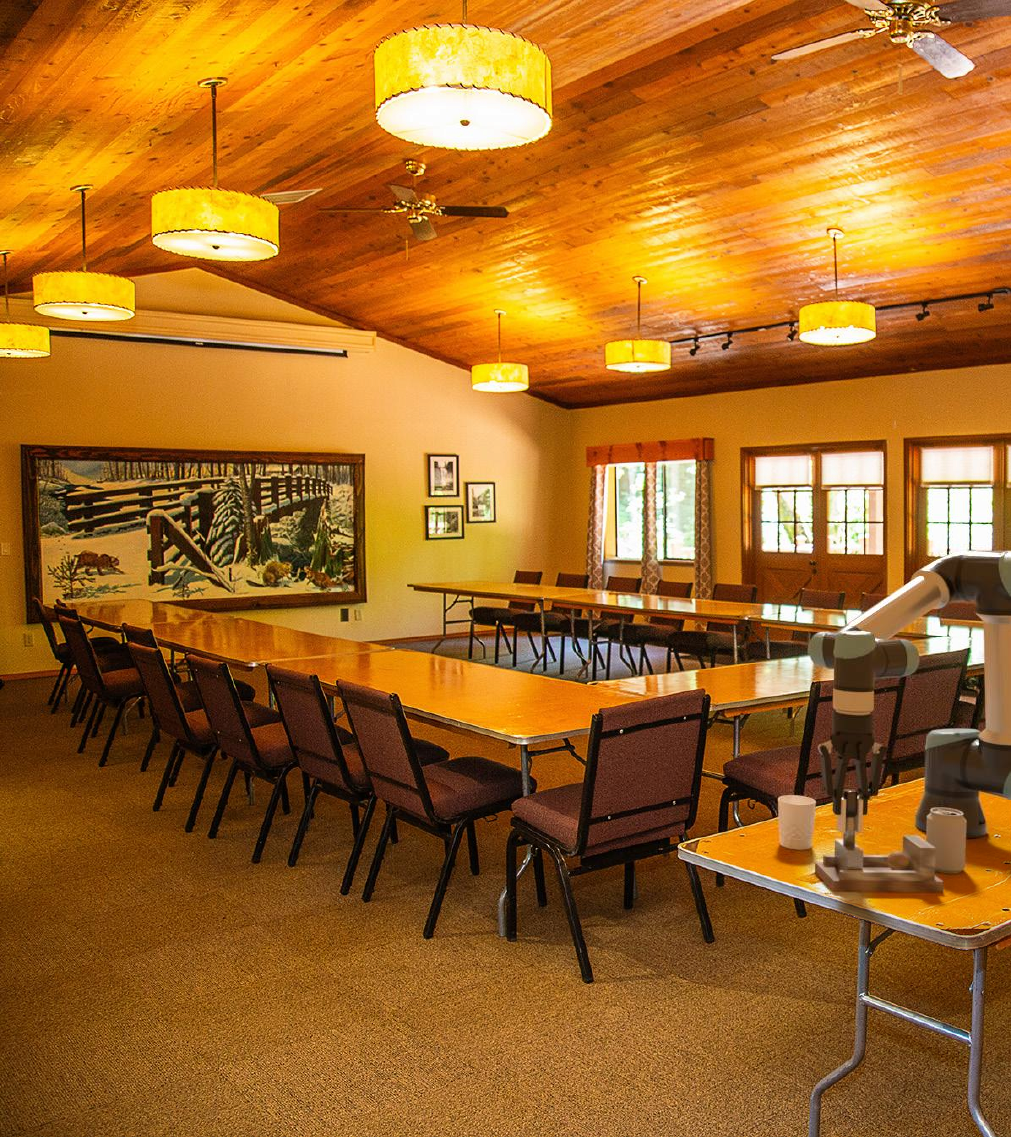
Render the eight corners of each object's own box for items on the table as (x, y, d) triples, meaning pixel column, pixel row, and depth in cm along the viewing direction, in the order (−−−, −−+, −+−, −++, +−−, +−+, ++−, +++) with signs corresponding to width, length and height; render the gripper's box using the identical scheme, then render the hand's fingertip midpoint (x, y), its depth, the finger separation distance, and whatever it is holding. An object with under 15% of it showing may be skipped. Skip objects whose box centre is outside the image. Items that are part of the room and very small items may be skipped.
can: (961, 877, 205) (963, 817, 205) (921, 870, 209) (923, 811, 209) (967, 867, 212) (969, 809, 211) (928, 860, 216) (930, 803, 215)
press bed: (918, 872, 208) (919, 833, 208) (943, 892, 197) (944, 850, 197) (814, 872, 207) (815, 832, 207) (833, 891, 196) (834, 849, 196)
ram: (849, 864, 205) (851, 786, 205) (862, 876, 198) (865, 796, 198) (834, 863, 205) (836, 786, 205) (847, 876, 198) (849, 796, 198)
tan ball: (903, 868, 204) (904, 848, 204) (912, 875, 200) (912, 854, 200) (883, 868, 204) (884, 848, 204) (891, 875, 200) (892, 854, 200)
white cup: (816, 852, 220) (817, 805, 220) (777, 849, 222) (779, 803, 221) (812, 841, 228) (814, 796, 228) (775, 838, 229) (777, 794, 229)
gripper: (885, 708, 205) (881, 825, 205) (806, 707, 204) (803, 825, 205) (900, 715, 197) (896, 837, 198) (819, 714, 197) (815, 836, 198)
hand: (849, 830), depth 202 cm, fingers closed on ram, 3 cm apart
